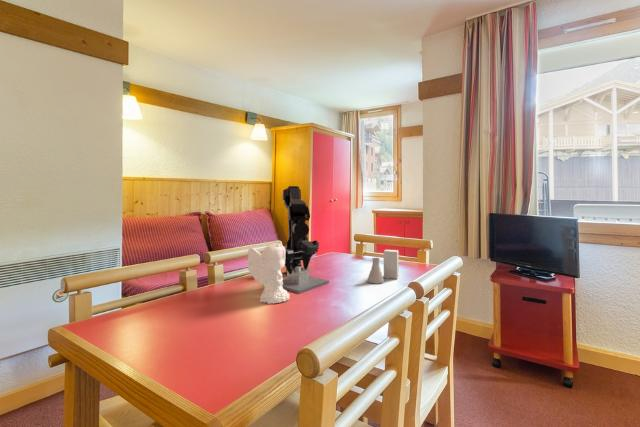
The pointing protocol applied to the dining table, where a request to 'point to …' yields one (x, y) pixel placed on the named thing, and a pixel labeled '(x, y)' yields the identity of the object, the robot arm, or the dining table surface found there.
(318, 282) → the post plate
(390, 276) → the skincare box
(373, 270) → the flask
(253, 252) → the cherub figurine
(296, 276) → the grey hollow square block
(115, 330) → the dining table surface
